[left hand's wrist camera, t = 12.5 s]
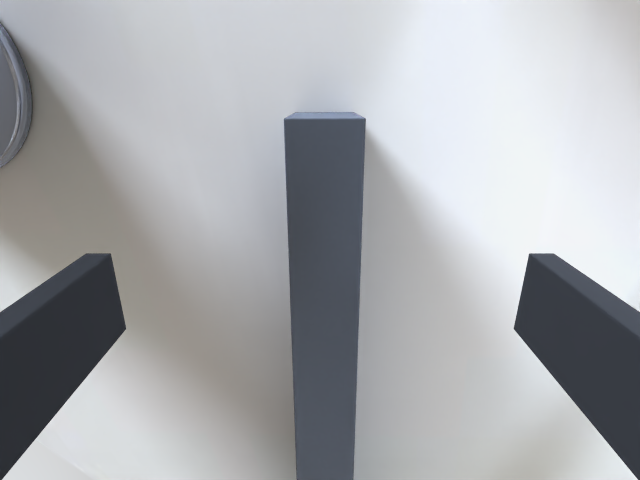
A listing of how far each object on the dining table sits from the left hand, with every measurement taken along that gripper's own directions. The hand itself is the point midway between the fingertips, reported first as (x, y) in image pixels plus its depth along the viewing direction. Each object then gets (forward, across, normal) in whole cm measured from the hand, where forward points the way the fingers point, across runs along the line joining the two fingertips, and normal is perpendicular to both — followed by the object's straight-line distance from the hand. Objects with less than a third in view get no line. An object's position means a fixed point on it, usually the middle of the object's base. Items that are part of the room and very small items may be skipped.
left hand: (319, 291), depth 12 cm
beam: (+22, 0, -22) cm, 31 cm away
